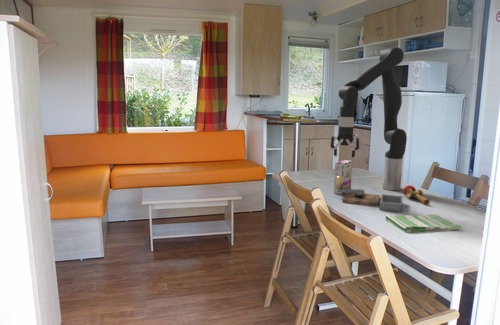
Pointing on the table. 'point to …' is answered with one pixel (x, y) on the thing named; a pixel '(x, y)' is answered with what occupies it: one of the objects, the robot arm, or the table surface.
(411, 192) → the kendama
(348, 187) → the candy bar box
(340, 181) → the crank
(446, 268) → the table surface
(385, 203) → the tray
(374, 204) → the crank base
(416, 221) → the dish towel
